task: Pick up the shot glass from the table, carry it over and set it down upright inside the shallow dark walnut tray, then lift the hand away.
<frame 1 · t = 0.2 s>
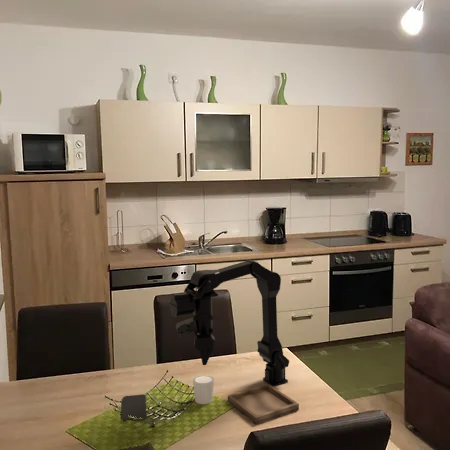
hand: (203, 358, 151), 14 cm above the table, tool pointing down, fingers open, 9 cm apart
phone: (134, 409, 149), on the table
walnut tray: (262, 405, 150), on the table
shot glass: (203, 400, 154), on the table
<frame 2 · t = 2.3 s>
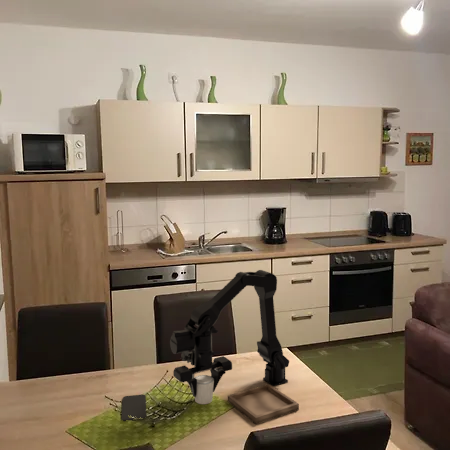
hand: (203, 394, 154), 2 cm above the table, tool pointing down, fingers closed on shot glass, 6 cm apart
shot glass: (203, 400, 154), on the table, touching gripper
everything else where it was.
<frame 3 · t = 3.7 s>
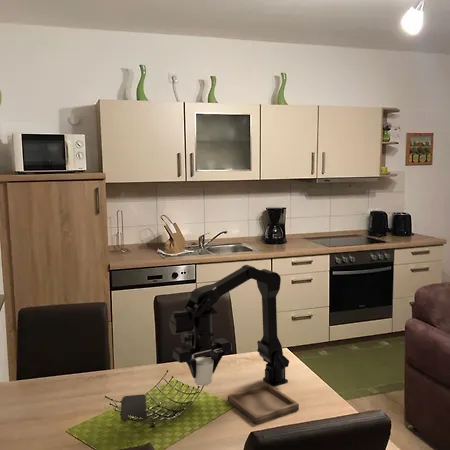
hand: (203, 375, 153), 8 cm above the table, tool pointing down, fingers closed on shot glass, 6 cm apart
shot glass: (203, 382, 153), point 6 cm above the table, touching gripper
everything else where it was.
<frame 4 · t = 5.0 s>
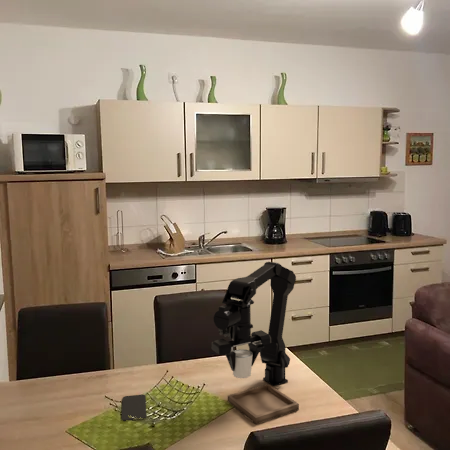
hand: (242, 368, 150), 12 cm above the table, tool pointing down, fingers closed on shot glass, 6 cm apart
shot glass: (242, 374, 150), point 9 cm above the table, touching gripper
everything else where it was.
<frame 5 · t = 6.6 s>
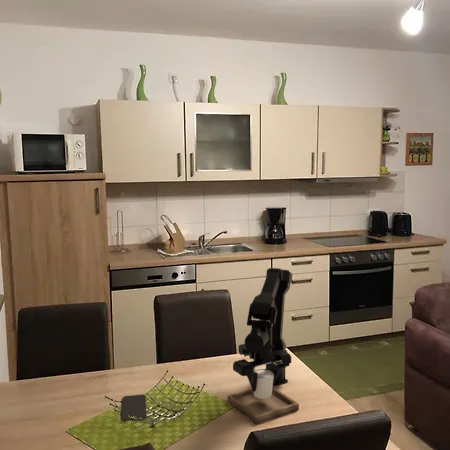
hand: (262, 388, 149), 6 cm above the table, tool pointing down, fingers closed on shot glass, 6 cm apart
shot glass: (262, 395, 150), point 3 cm above the table, touching gripper
everything else where it was.
when the fingers open (4 cm above the table, at t = 7.9 s): shot glass drops 1 cm, resting on walnut tray.
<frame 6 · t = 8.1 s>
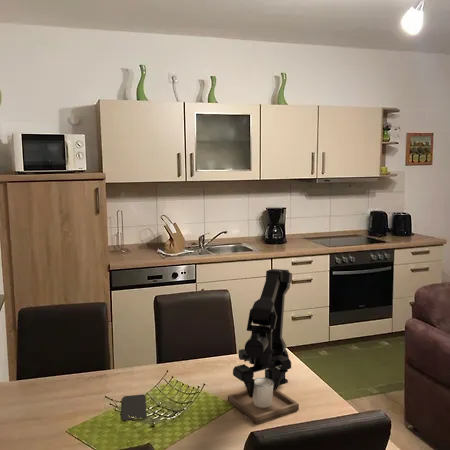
hand: (262, 393, 149), 4 cm above the table, tool pointing down, fingers open, 9 cm apart
shot glass: (262, 403, 150), point 1 cm above the table, touching walnut tray
everything else where it was.
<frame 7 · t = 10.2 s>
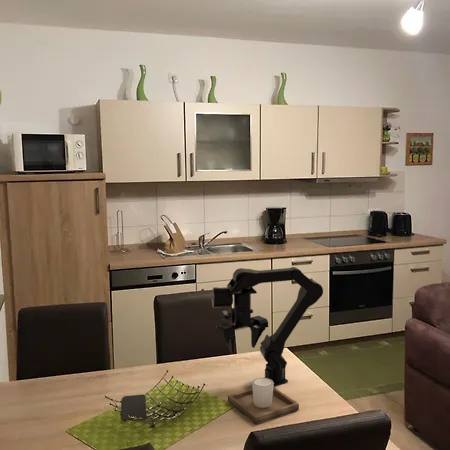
hand: (242, 350, 164), 12 cm above the table, tool pointing down, fingers open, 9 cm apart
nothing on the table moved.
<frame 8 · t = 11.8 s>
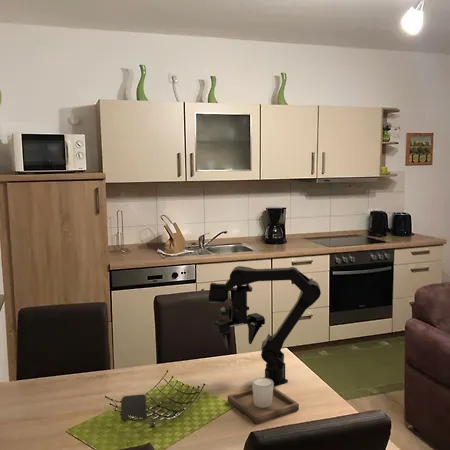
hand: (239, 346, 168), 12 cm above the table, tool pointing down, fingers open, 9 cm apart
nothing on the table moved.
at the end: shot glass inside the target area on the walnut tray (0.1 cm from its centre), point 0.6 cm above the walnut tray's base; shot glass tilted 0°; the gripper is holding nothing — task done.
